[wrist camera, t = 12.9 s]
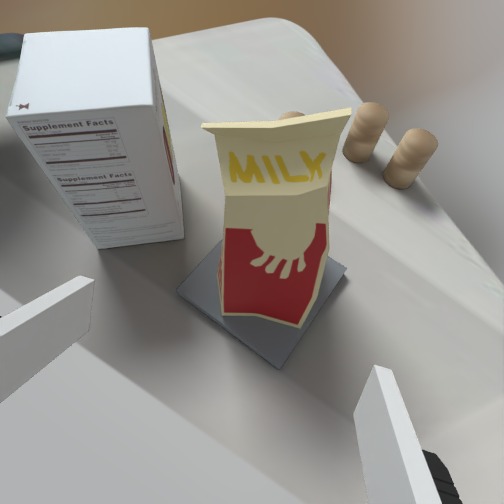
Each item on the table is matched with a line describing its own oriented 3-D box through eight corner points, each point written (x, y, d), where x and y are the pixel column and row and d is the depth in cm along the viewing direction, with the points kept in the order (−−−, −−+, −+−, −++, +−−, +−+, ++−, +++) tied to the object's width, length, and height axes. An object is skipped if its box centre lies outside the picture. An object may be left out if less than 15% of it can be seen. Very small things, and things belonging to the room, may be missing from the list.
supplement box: (186, 240, 37) (156, 108, 22) (96, 252, 36) (0, 120, 21) (179, 171, 41) (149, 22, 27) (98, 179, 40) (20, 28, 25)
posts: (238, 202, 40) (239, 166, 34) (230, 149, 43) (230, 109, 38) (416, 188, 42) (443, 151, 37) (394, 139, 46) (416, 99, 40)
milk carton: (312, 244, 36) (389, 58, 19) (305, 330, 32) (396, 195, 14) (226, 229, 36) (220, 34, 19) (207, 313, 32) (176, 161, 14)
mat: (178, 293, 34) (176, 289, 33) (250, 213, 39) (251, 207, 38) (279, 370, 31) (280, 367, 30) (343, 273, 36) (347, 268, 35)
